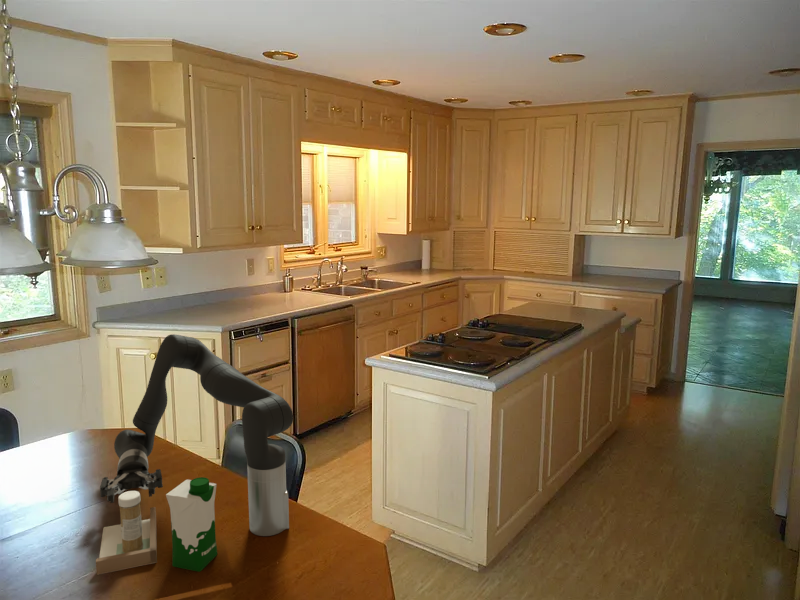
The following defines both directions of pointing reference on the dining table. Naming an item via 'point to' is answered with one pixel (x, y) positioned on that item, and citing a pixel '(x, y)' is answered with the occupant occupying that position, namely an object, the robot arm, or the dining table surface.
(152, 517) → the tray
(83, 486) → the dining table surface
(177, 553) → the milk carton
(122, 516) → the sprinkles bottle
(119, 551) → the pad
